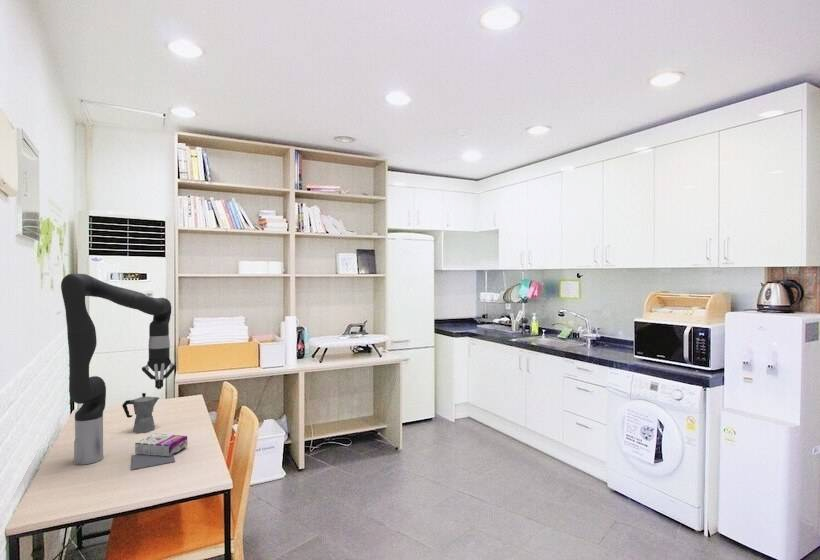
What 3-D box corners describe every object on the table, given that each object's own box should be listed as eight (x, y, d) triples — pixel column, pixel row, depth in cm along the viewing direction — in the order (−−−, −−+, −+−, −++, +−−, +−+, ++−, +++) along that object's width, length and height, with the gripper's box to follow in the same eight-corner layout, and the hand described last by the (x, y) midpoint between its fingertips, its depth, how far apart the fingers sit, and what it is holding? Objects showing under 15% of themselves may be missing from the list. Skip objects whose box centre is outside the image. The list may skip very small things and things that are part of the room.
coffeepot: (157, 425, 224) (157, 389, 224) (161, 429, 217) (161, 392, 217) (121, 431, 215) (120, 394, 215) (123, 437, 207) (123, 398, 207)
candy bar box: (187, 447, 194) (155, 444, 197) (187, 435, 194) (154, 432, 197) (169, 457, 183) (134, 454, 186) (168, 445, 183) (134, 442, 186)
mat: (130, 470, 171) (130, 469, 171) (131, 456, 185) (131, 455, 185) (174, 462, 179) (174, 461, 179) (172, 449, 193) (172, 448, 193)
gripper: (140, 349, 178) (140, 392, 178) (177, 346, 185) (177, 388, 185) (140, 346, 184) (140, 388, 185) (176, 344, 191) (176, 384, 191)
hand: (159, 388), depth 185 cm, fingers closed
